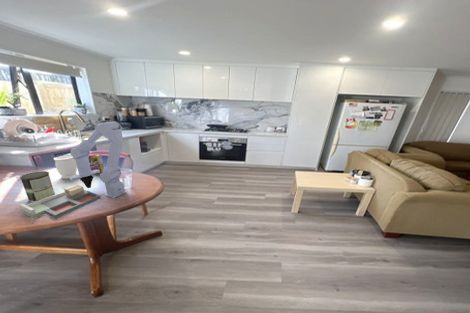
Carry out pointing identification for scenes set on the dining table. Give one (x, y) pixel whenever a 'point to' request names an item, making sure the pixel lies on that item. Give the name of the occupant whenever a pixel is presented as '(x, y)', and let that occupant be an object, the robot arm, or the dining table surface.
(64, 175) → the jar
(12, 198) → the dining table surface
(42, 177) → the coffee can
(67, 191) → the maple block
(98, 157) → the candy box
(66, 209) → the board
